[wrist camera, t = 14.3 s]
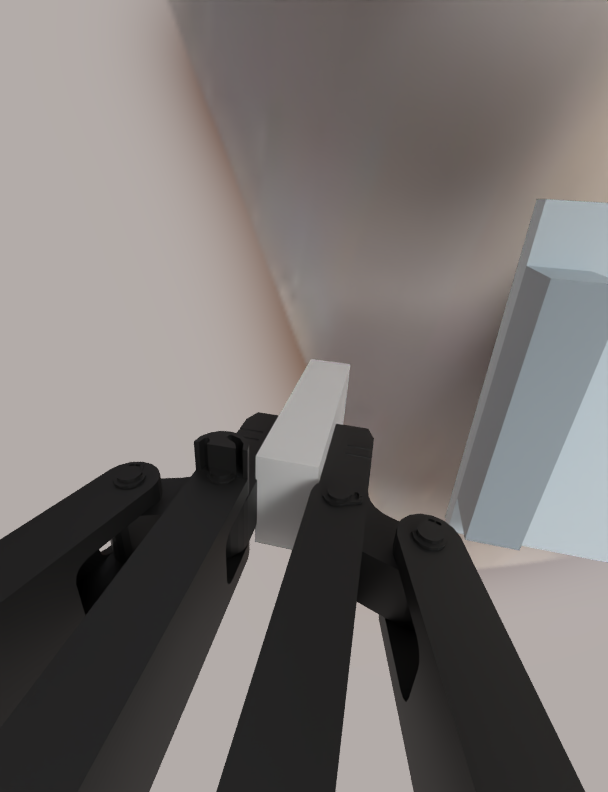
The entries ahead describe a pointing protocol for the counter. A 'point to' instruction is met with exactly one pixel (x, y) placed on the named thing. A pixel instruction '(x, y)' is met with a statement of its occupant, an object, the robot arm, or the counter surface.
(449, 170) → the counter surface
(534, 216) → the pale blue flat panel
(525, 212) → the counter surface
